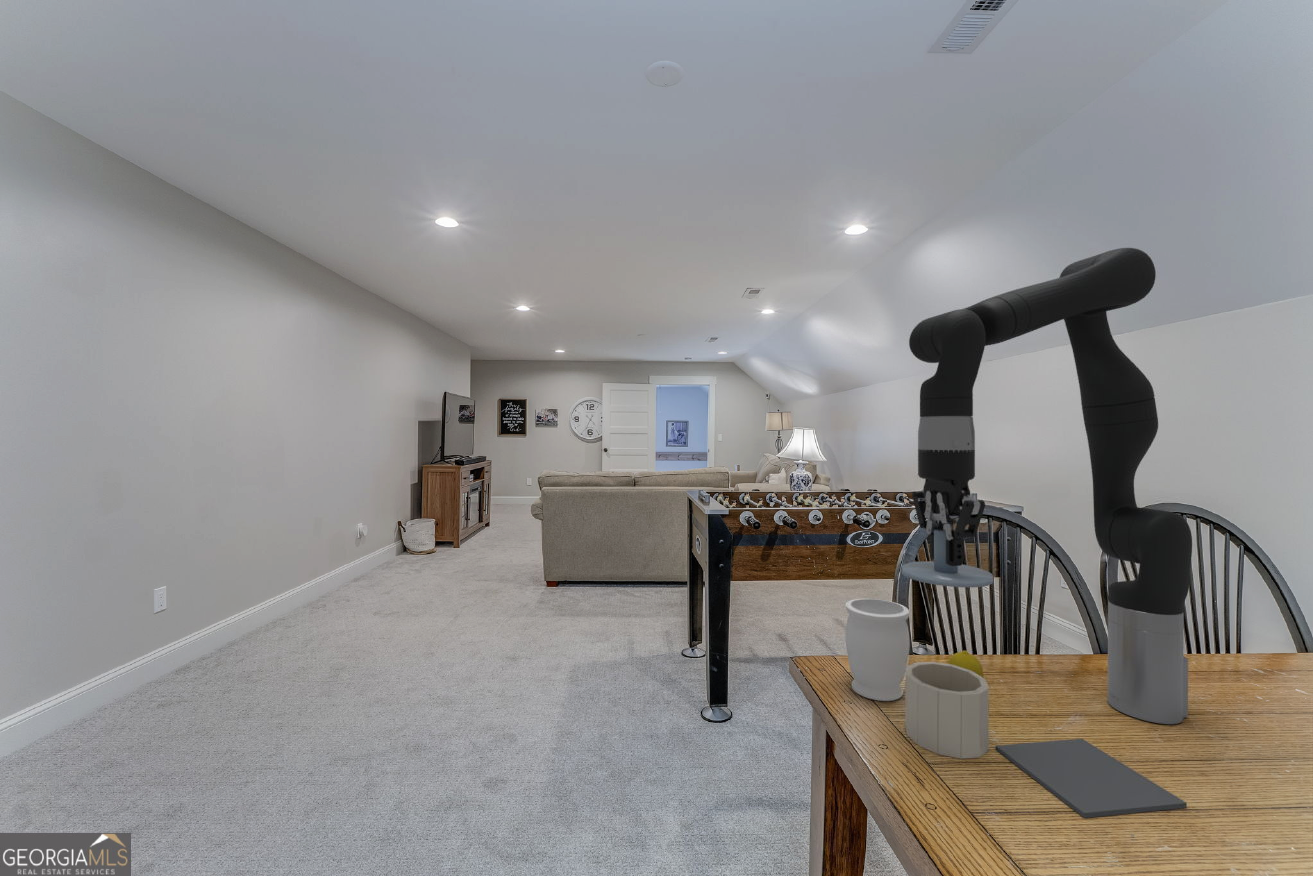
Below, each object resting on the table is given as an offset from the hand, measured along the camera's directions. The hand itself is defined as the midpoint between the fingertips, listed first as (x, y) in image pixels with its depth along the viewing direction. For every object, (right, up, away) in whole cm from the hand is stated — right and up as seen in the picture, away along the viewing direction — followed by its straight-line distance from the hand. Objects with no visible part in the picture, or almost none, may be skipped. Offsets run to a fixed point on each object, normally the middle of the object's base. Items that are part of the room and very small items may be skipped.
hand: (945, 561), depth 81 cm
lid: (0, -2, 0) cm, 2 cm away
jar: (-4, -27, +15) cm, 31 cm away
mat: (+13, -26, -9) cm, 31 cm away
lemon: (+10, -27, +13) cm, 31 cm away
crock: (0, -26, 0) cm, 26 cm away
